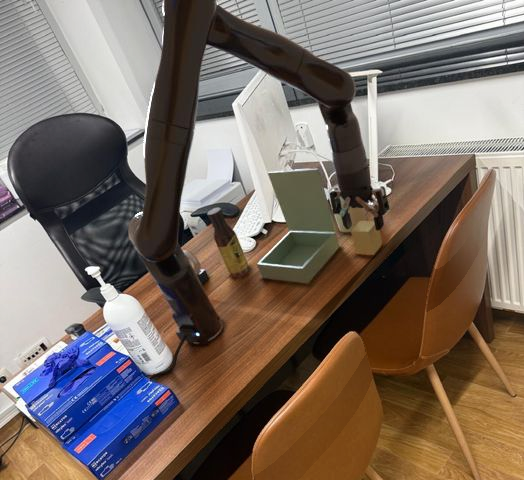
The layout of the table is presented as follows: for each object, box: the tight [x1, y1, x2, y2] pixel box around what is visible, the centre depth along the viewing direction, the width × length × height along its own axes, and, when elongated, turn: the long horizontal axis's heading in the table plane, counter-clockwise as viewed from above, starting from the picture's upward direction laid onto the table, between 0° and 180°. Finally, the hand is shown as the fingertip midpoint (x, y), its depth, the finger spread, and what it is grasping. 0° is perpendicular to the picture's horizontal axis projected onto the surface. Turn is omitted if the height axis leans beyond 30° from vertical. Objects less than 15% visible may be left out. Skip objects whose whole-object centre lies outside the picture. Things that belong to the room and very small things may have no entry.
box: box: [256, 230, 340, 284], centre depth 123 cm, size 17×16×5 cm
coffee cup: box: [327, 183, 367, 233], centre depth 126 cm, size 9×9×12 cm
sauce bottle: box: [207, 207, 250, 278], centre depth 127 cm, size 7×6×20 cm
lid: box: [267, 167, 337, 232], centre depth 121 cm, size 17×16×5 cm
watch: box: [183, 249, 210, 286], centre depth 134 cm, size 6×8×11 cm
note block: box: [350, 220, 383, 256], centre depth 116 cm, size 5×5×8 cm
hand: (364, 228), depth 113 cm, fingers open, 8 cm apart
